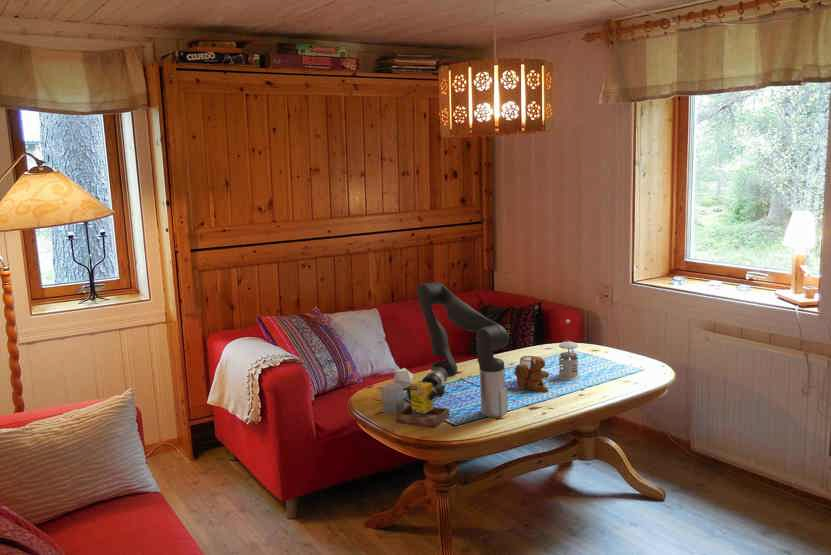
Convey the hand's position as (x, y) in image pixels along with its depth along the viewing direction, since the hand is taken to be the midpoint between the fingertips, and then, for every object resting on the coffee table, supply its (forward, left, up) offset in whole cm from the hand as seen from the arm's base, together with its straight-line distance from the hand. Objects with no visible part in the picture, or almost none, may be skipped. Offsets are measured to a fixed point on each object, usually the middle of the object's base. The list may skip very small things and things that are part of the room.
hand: (420, 397), depth 259 cm
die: (+25, -32, -9) cm, 42 cm away
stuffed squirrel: (-26, -48, -10) cm, 56 cm away
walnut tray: (0, -2, -9) cm, 9 cm away
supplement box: (0, -2, -7) cm, 7 cm away
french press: (-36, -69, -9) cm, 78 cm away
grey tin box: (+15, -6, -9) cm, 19 cm away
